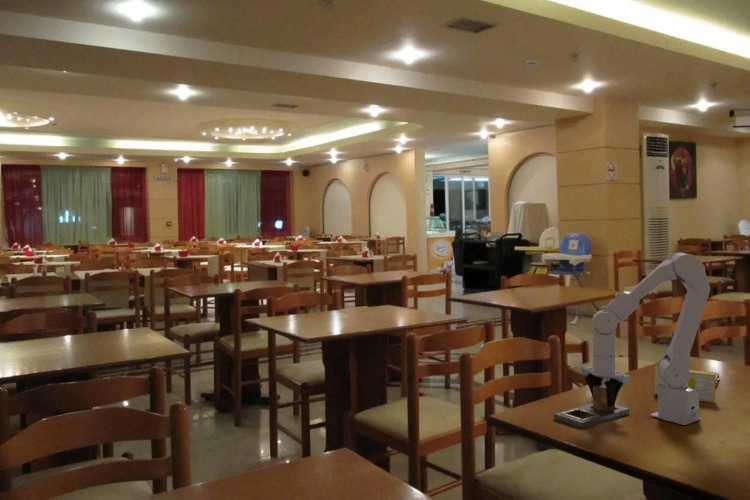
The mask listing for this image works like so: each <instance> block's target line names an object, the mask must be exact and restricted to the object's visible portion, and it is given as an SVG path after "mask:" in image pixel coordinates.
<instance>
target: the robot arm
mask: <svg viewBox="0 0 750 500" xmlns="http://www.w3.org/2000/svg"><path fill="white" fill-rule="evenodd" d="M677 279H679V280H680V282H681V283H682V285H683V286H684V287H685V289H686V294H685V297H684V300H683V304H682V306H681V309H680V313H679V316H678V319H677V322H676V325H675V329H674V332H673V334H672V338H671V341H670V343H669V347H667V349H666V350H665V352H664V354H663V357H661V358H660V359H659V360H658V362H657V364H656V367H657V370H658V373H659V374H660V375H661V378H660V379H659V381H658V395H657V411H656V412H653V413H650V417H653V418H658V419H661V420H664V421H668V422H670V423H675V424H679V425H683V426H686V425H689V424H691V423H694V422H698V421H701V417H700V401H699V395H698V392H697V391H696V390H694V389H691V388H689V387H688V381H689V379H690V373H689V370H690V365H691V352H692V351H691V350H692V347H693V344H694V342H695V338H696V336H697V332H698V329H699V327H700V323H701V320H702V317H703V313H704V311H705V308H706V304H707V301H708V299H709V296H710V291H711V285H710V282H709V279H708V276H707V273H706V266H705V265H704V263H703V262H702V261H701V260H700V259H699V258H698V256H696V255H694V254H689V253H685V252H676V253H673V254H672V255H670V256H669V258H668V259H665V260H663V261H662V262H660V263H659V264H658V265H657V266H656V267H655V268H653V270H652V271H651V272H649V274H647V275H646V276H645V277H644V278H643V279H642V280H641V281H640V282H639V283H638V284H637V285H636V286H635V287H633V288H632V289H631V290H629V291H627V290H626V291H625V290H623V291H621V292H616V293H615V294H614V299H612V300H611V301H610V302H608V304H606V305H602V306H601V309H602V310H597V311H596V312H595V313H594V314H593V316H592V318H591V320H590V321H591V325H592V326H593V332H592V334H593V335H592V336H593V337H592V366H589V365H580V366H579V374H586V375H587V376H585V377H584V381H585V382H586V384H587V386H588V388H589V391H590V394H591V398H592V399H593V386H597V385H601V384H602V380H603V378H606V379H610V381H605V386H606V390H607V404H608V406H609V407H612V406H615V405H616V401H617V397H618V395H619V391H621V389H622V386H623V385H624V384H625V385H626V384H629V383H631V376H630V375H629V374H626V373H622V372H620V371H617V370H616V338H615V331H616V330H617V328H618V324H619V323H622V321H625V319H627V317H629V316H630V315H631V314H633V312H634V311H636V310H637V309H639V308H640V307H639V306H640V300H641V299H643V298H644V297H645V296H646V295H648V294H649V293H650V292H651V291H653V290H655V289H656V288H657V287H658V286H659V285H660V284H662V283H664V282H667V281H673V280H675V281H676V280H677Z"/></svg>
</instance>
